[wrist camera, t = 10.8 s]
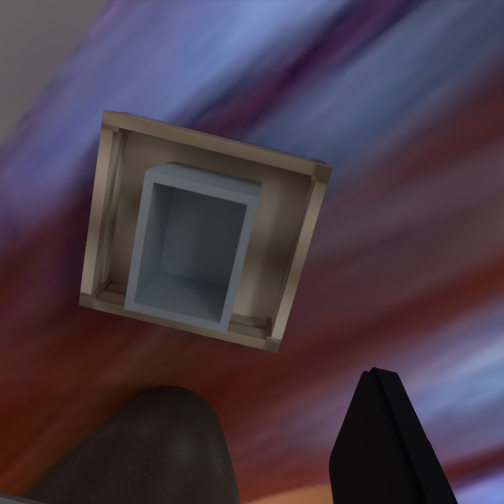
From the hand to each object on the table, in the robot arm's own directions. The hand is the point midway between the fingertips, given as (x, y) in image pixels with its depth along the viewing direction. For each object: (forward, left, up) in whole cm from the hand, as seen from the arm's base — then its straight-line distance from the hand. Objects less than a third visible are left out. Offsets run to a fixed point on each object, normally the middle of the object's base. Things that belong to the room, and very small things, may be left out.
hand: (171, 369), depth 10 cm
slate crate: (+1, -2, -19) cm, 19 cm away
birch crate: (+2, -2, -19) cm, 19 cm away
